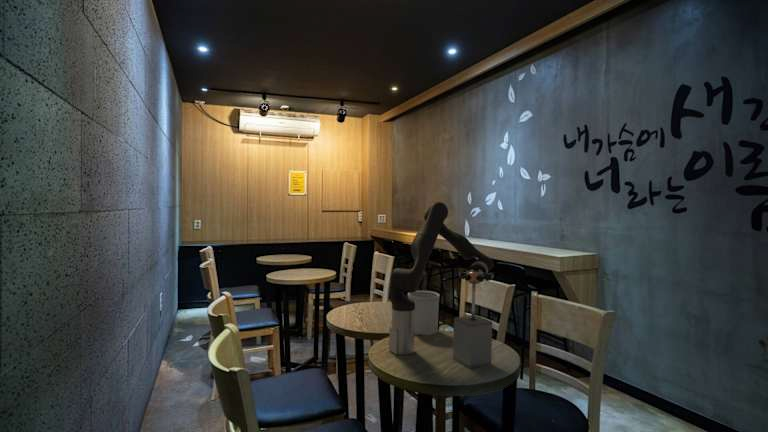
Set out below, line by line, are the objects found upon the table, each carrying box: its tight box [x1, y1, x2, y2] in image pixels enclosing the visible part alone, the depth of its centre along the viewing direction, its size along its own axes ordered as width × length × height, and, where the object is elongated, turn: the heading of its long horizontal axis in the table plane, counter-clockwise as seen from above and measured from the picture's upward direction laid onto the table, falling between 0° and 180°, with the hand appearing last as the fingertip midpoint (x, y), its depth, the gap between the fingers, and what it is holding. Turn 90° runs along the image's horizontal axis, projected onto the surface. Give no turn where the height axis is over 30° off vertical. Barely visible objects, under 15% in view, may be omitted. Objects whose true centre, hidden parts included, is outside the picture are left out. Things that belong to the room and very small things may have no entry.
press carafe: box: [452, 314, 493, 369], centre depth 156 cm, size 10×10×16 cm
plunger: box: [468, 271, 480, 321], centre depth 156 cm, size 8×8×23 cm
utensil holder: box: [407, 290, 441, 336], centre depth 193 cm, size 15×15×18 cm
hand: (473, 278), depth 153 cm, fingers closed on plunger, 4 cm apart
